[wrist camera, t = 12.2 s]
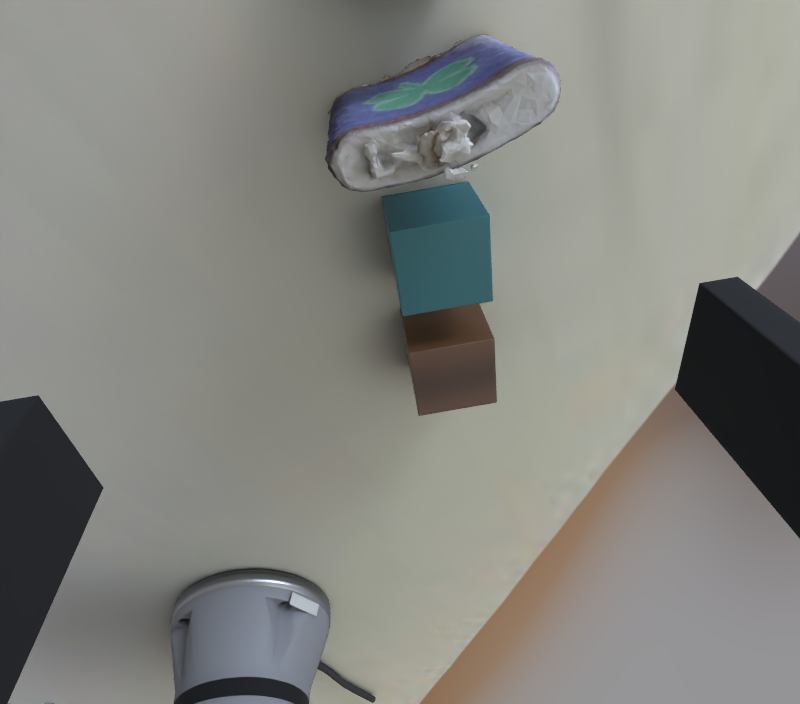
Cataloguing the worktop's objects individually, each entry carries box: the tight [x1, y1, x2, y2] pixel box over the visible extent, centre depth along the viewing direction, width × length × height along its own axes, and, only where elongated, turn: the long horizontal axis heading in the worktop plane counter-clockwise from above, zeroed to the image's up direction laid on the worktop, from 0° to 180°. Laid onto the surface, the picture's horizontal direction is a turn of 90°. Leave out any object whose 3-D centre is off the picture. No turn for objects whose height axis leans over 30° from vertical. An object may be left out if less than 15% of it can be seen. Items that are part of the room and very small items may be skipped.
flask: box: [325, 35, 561, 192], centre depth 23 cm, size 9×3×11 cm, turn 110°
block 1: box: [382, 182, 493, 316], centre depth 29 cm, size 5×5×5 cm
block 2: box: [400, 303, 497, 416], centre depth 34 cm, size 5×5×5 cm
